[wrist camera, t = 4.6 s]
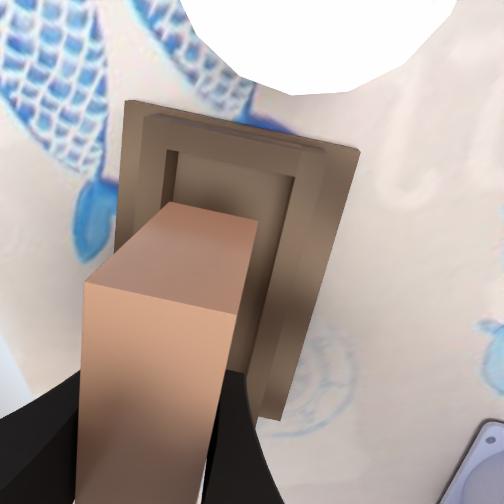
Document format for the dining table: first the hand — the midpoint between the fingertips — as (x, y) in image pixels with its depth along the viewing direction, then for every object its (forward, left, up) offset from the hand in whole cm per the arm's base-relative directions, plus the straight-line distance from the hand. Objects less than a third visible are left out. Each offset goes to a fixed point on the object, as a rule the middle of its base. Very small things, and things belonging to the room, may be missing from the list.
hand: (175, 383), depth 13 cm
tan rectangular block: (0, 0, -2) cm, 3 cm away
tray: (0, 0, -8) cm, 8 cm away
